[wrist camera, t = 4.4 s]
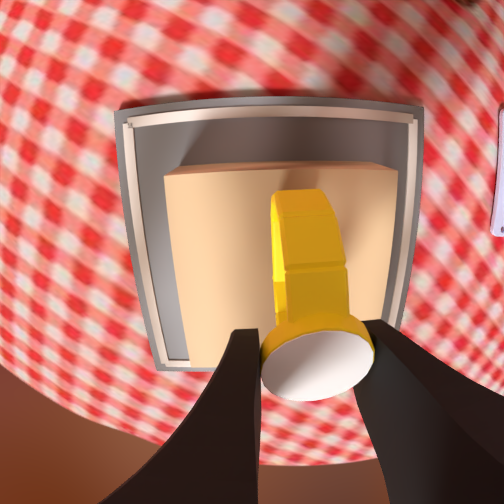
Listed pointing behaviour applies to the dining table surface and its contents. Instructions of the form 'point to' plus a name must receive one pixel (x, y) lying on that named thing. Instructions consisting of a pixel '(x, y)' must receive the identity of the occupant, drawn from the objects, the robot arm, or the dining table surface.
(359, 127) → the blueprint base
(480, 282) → the dining table surface
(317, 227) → the watch
